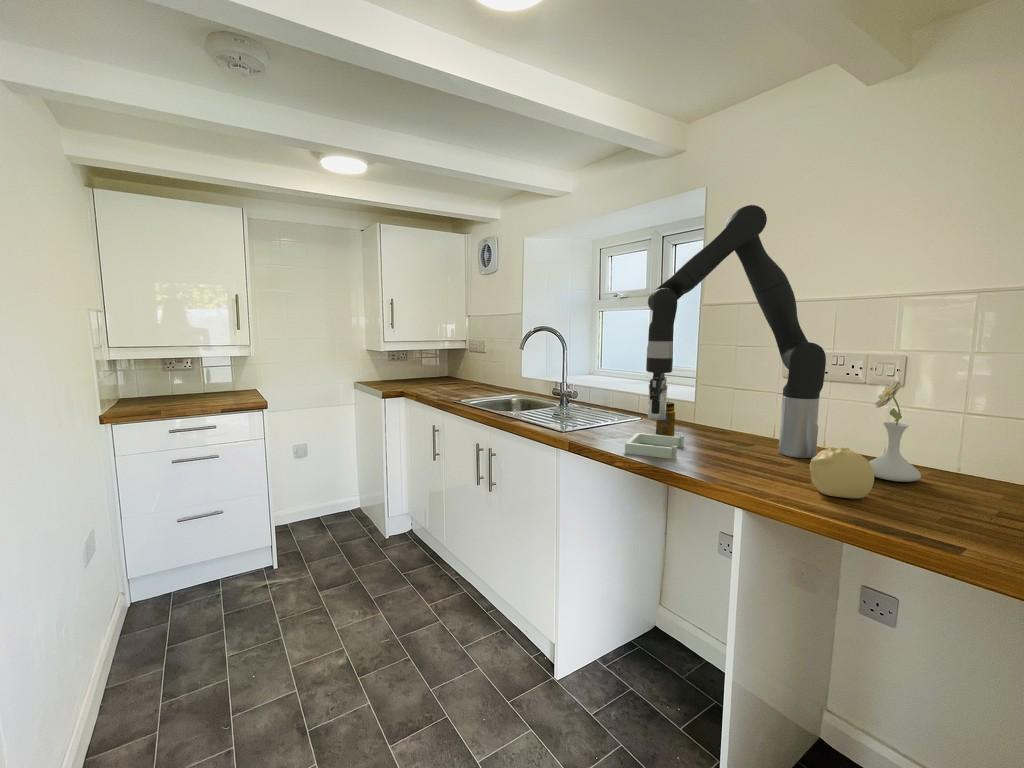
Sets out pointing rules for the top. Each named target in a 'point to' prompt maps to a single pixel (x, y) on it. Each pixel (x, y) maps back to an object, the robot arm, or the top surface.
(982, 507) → the top surface
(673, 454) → the tray
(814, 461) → the cream rounded lump
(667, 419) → the condiment
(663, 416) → the shaker
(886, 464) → the flower in vase
